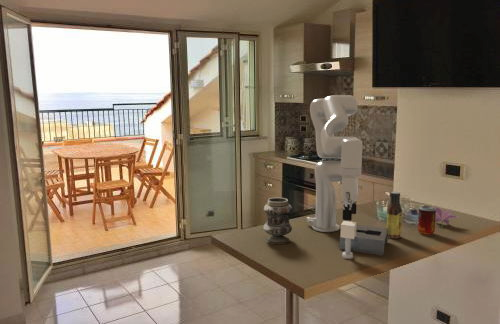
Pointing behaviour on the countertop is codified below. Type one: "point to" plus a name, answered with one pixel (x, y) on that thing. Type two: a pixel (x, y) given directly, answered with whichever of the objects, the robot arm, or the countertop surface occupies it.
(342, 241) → the slotted grey box
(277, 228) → the apothecary jar
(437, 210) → the lily
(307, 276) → the countertop surface
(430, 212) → the soda can
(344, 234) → the peg
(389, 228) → the sauce bottle
